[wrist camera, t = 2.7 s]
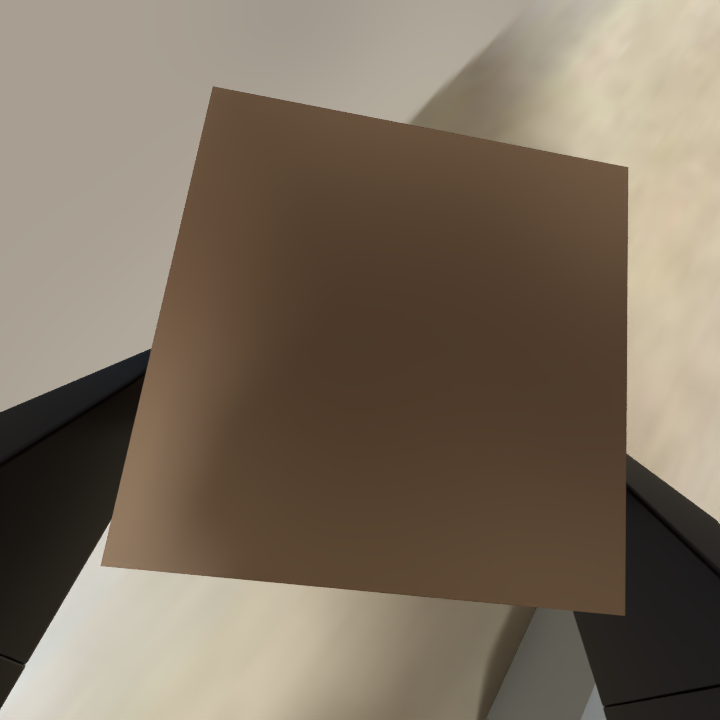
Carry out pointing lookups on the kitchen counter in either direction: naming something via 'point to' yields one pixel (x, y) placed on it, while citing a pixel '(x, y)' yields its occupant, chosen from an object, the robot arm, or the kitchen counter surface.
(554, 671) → the pedestal
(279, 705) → the kitchen counter surface
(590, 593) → the walnut block
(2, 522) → the robot arm
